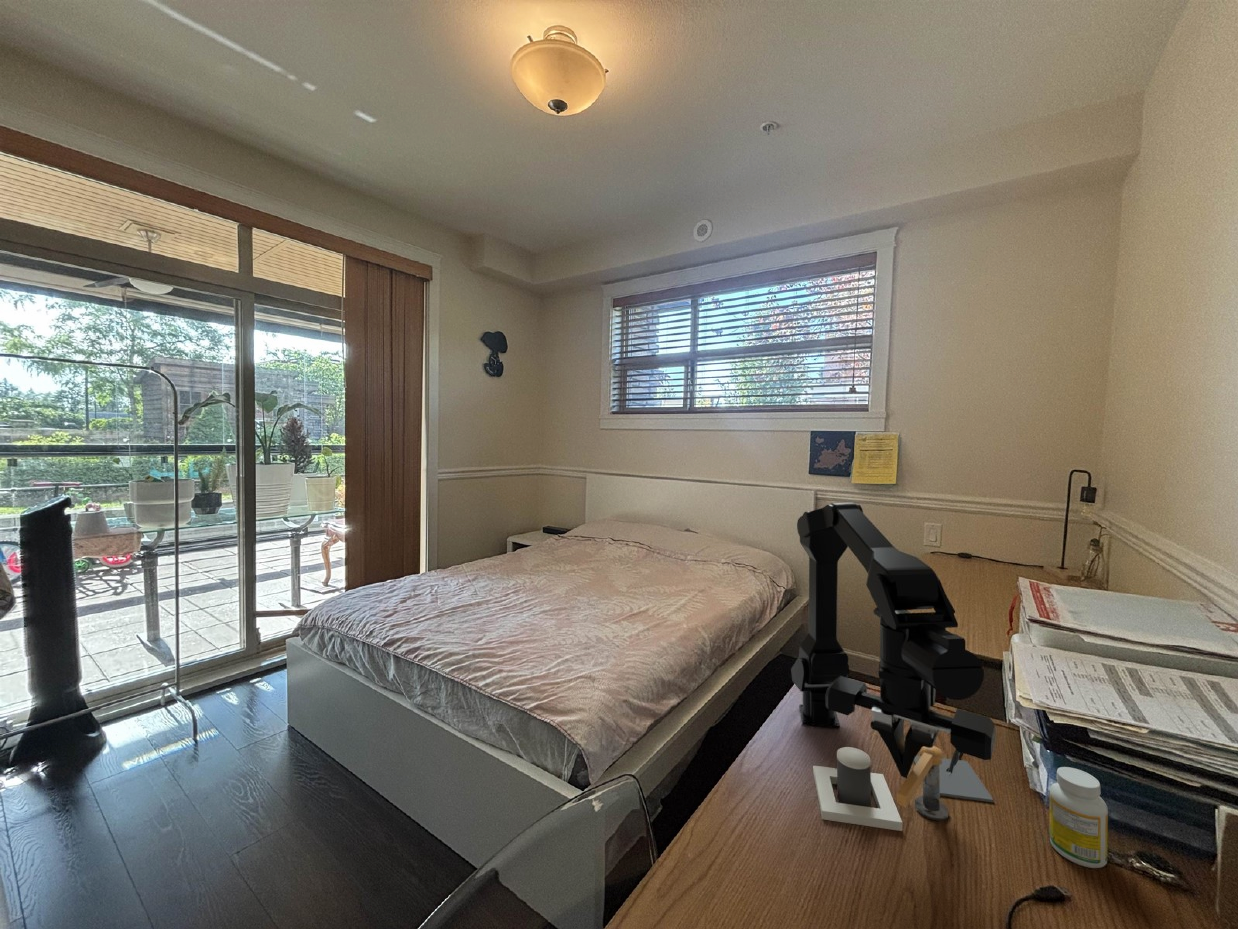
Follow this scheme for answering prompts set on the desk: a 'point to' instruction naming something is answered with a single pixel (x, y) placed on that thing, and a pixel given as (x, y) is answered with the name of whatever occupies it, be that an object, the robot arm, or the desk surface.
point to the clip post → (931, 797)
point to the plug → (853, 777)
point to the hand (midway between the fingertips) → (904, 775)
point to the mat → (960, 781)
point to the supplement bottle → (1078, 818)
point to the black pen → (954, 761)
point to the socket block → (856, 814)
